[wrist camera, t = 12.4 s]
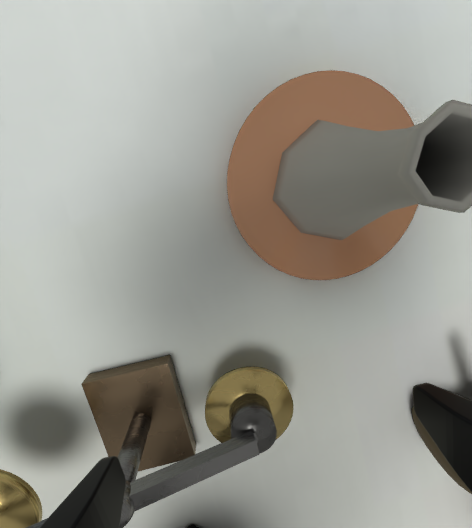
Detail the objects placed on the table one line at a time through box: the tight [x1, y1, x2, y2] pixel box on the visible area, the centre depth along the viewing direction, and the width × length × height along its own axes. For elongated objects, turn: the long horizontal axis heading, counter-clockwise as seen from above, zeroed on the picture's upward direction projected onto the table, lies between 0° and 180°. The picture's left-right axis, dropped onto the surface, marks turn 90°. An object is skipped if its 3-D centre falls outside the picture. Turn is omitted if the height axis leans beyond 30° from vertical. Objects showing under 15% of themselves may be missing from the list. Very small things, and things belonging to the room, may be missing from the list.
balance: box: [0, 355, 293, 528], centre depth 17 cm, size 22×8×9 cm, turn 102°
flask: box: [273, 100, 472, 240], centre depth 14 cm, size 7×7×10 cm
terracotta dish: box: [227, 70, 418, 280], centre depth 19 cm, size 13×13×1 cm
